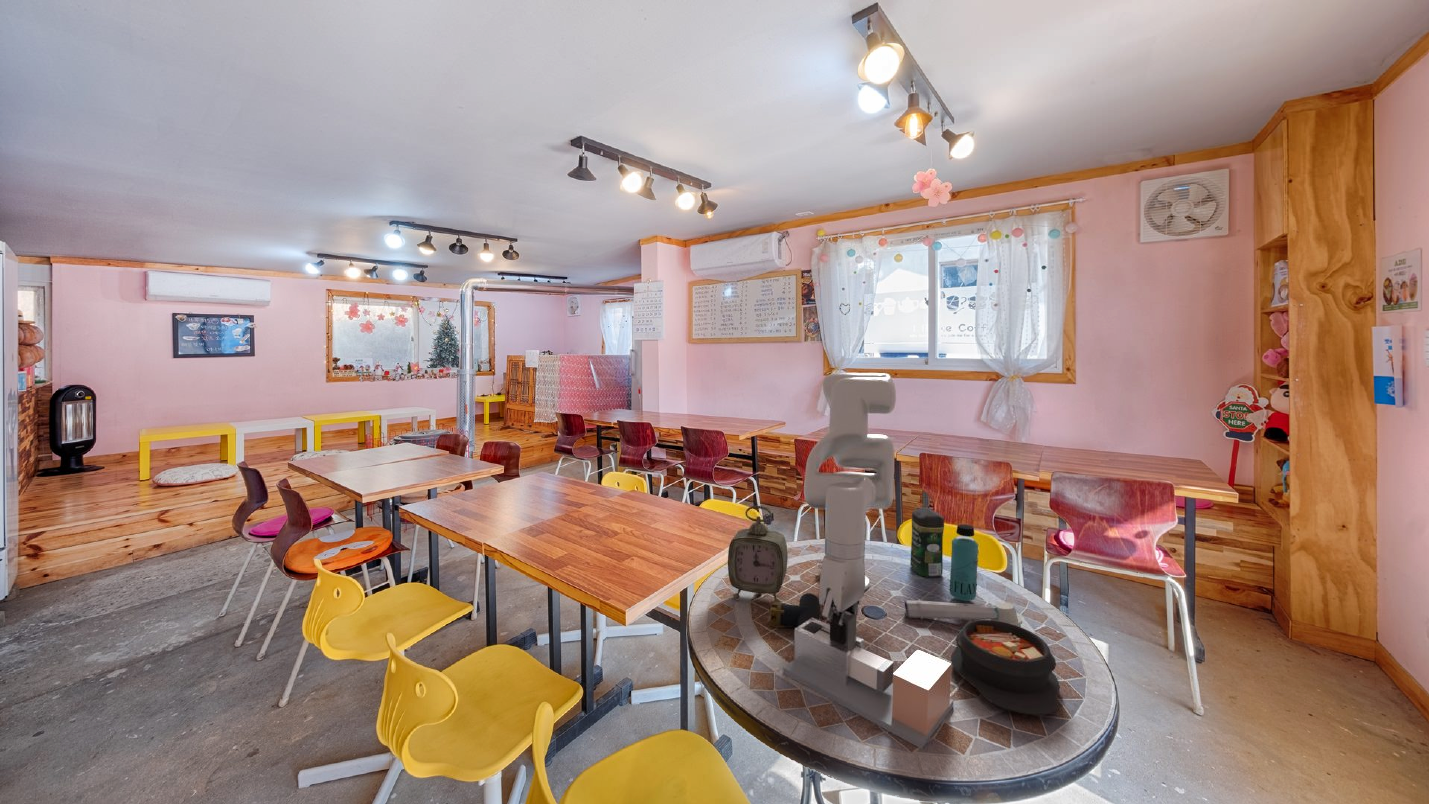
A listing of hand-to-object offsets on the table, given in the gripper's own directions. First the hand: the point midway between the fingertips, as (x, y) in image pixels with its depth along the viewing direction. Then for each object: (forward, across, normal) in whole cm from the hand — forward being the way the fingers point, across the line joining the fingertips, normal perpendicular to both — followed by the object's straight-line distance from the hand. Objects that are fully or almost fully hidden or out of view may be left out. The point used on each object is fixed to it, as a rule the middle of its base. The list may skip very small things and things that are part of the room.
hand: (842, 636), depth 99 cm
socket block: (+7, 0, +16) cm, 17 cm away
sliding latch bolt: (+6, 0, +2) cm, 6 cm away
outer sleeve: (+7, 0, -3) cm, 8 cm away
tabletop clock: (+9, -14, -33) cm, 37 cm away
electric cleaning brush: (+9, -38, +9) cm, 40 cm away
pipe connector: (+9, -9, -18) cm, 22 cm away
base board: (+9, 0, +5) cm, 10 cm away
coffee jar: (+9, -61, -8) cm, 62 cm away
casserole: (+9, -22, +23) cm, 33 cm away
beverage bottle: (+9, -50, +6) cm, 51 cm away
